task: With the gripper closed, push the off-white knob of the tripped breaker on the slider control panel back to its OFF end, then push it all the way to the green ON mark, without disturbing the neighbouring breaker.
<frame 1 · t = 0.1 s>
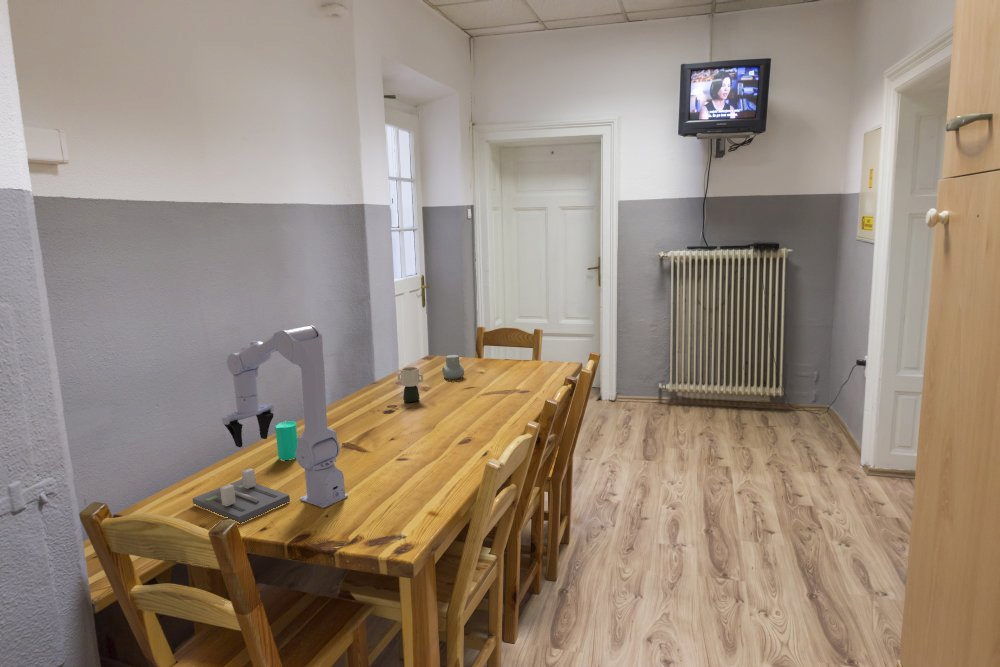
hand: (251, 442, 176), 10 cm above the table, tool pointing down, fingers open, 7 cm apart
air freshener: (453, 378, 283), on the table
tripped breaker: (228, 495, 155), point 5 cm above the table, slide at 5.0 cm
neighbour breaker: (248, 478, 165), point 5 cm above the table, slide at 10.0 cm
character mug: (411, 401, 248), on the table
candle: (288, 458, 192), on the table
slider control panel: (241, 504, 160), on the table
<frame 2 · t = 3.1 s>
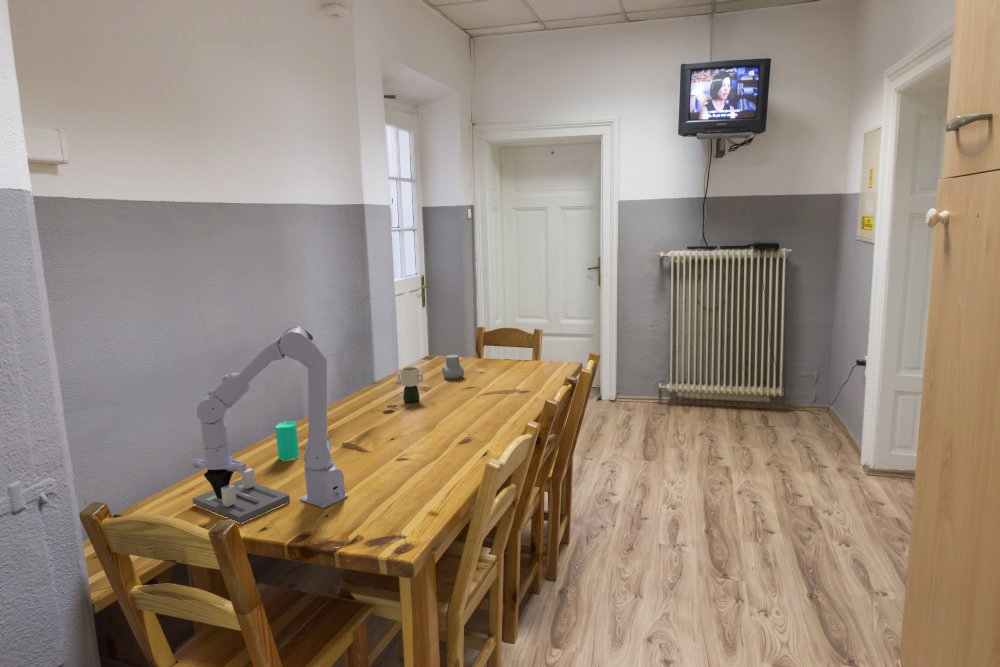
hand: (222, 497, 157), 3 cm above the table, tool pointing down, fingers closed
tripped breaker: (228, 495, 155), point 5 cm above the table, slide at 4.7 cm, touching gripper
everything else where it was.
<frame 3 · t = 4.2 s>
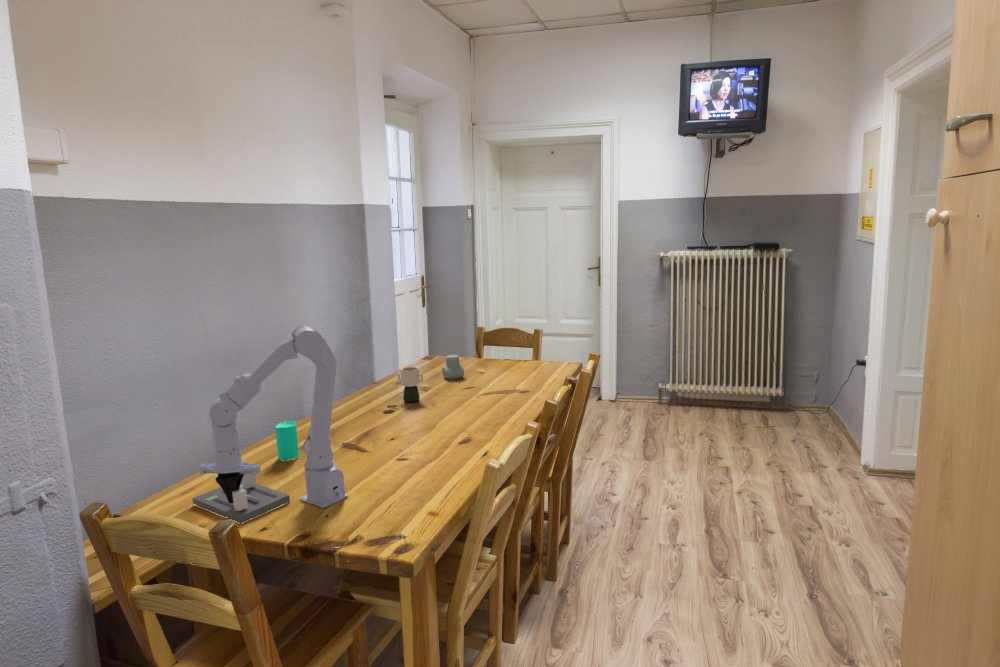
hand: (233, 501, 154), 3 cm above the table, tool pointing down, fingers closed
tripped breaker: (240, 499, 152), point 5 cm above the table, slide at -0.1 cm, touching gripper
everything else where it was.
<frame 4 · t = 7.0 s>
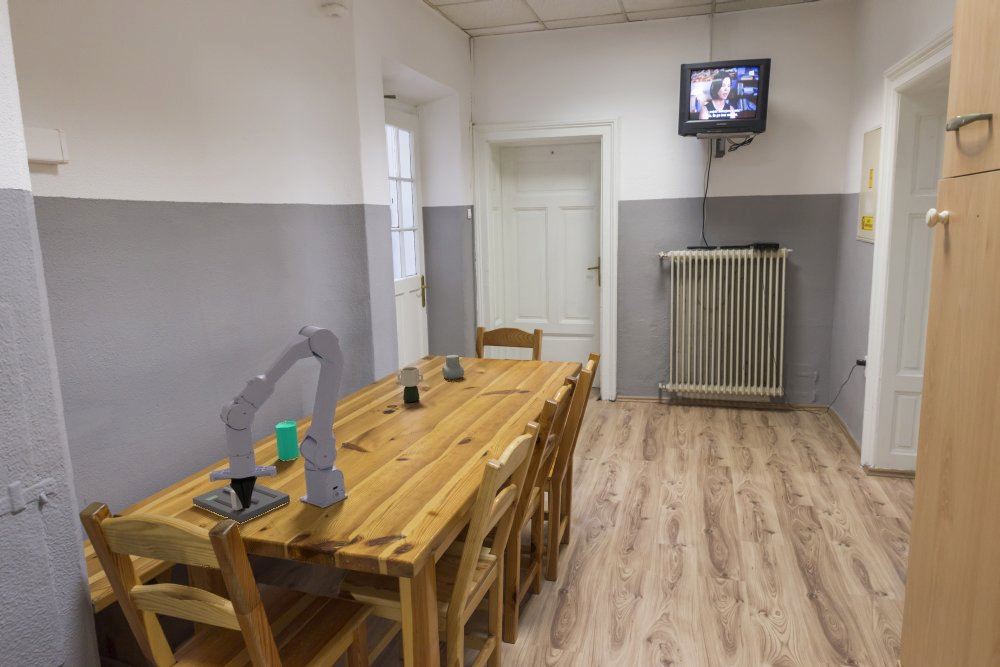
hand: (246, 506, 151), 3 cm above the table, tool pointing down, fingers closed
tripped breaker: (238, 499, 153), point 5 cm above the table, slide at 0.8 cm, touching gripper
everything else where it was.
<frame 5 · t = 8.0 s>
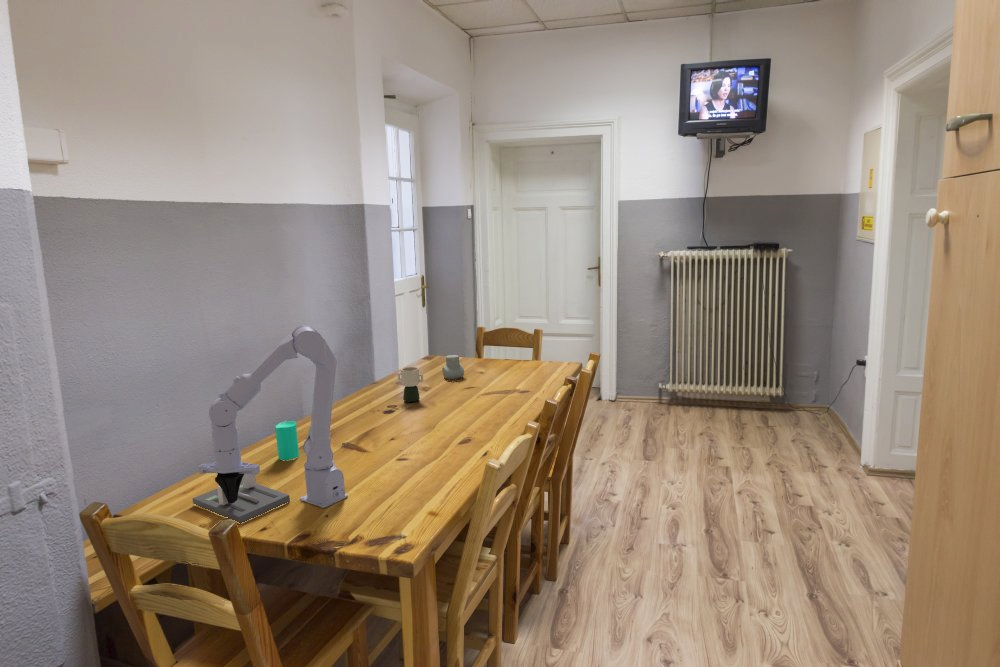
hand: (232, 501, 154), 3 cm above the table, tool pointing down, fingers closed
tripped breaker: (224, 493, 156), point 5 cm above the table, slide at 6.3 cm, touching gripper
everything else where it was.
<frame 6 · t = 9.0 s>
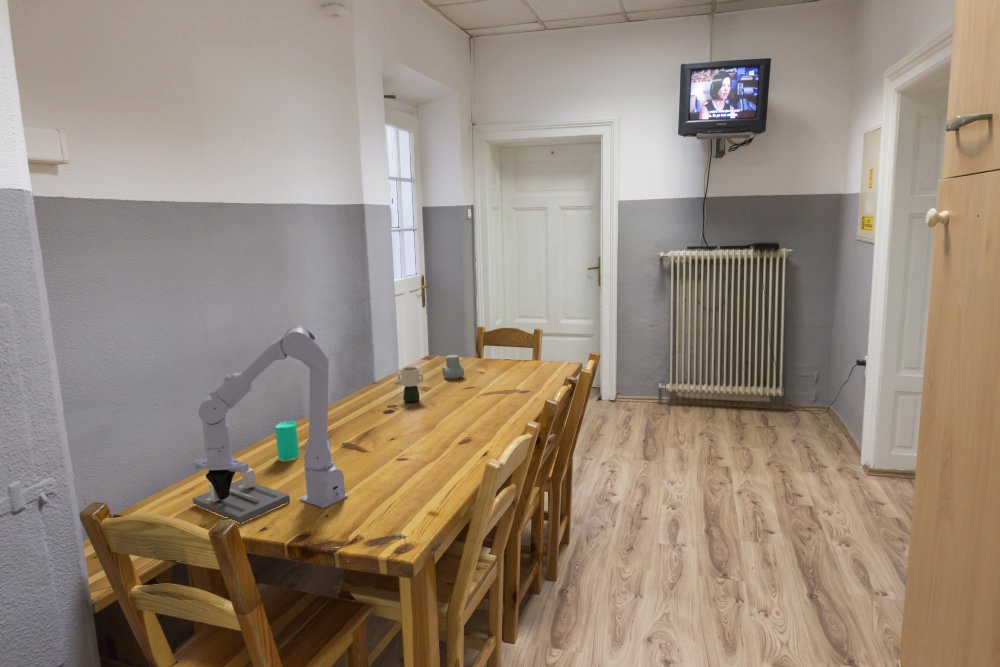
hand: (223, 498, 156), 3 cm above the table, tool pointing down, fingers closed
tripped breaker: (216, 490, 158), point 5 cm above the table, slide at 10.0 cm, touching gripper
everything else where it was.
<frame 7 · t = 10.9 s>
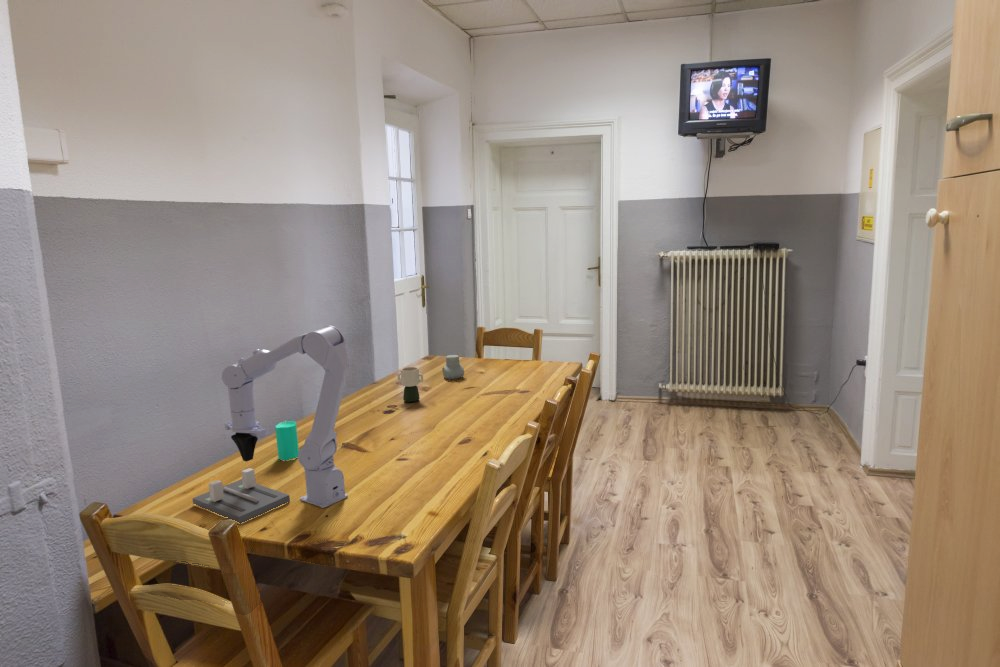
hand: (248, 459, 165), 9 cm above the table, tool pointing down, fingers closed
tripped breaker: (216, 490, 158), point 5 cm above the table, slide at 10.0 cm
everything else where it was.
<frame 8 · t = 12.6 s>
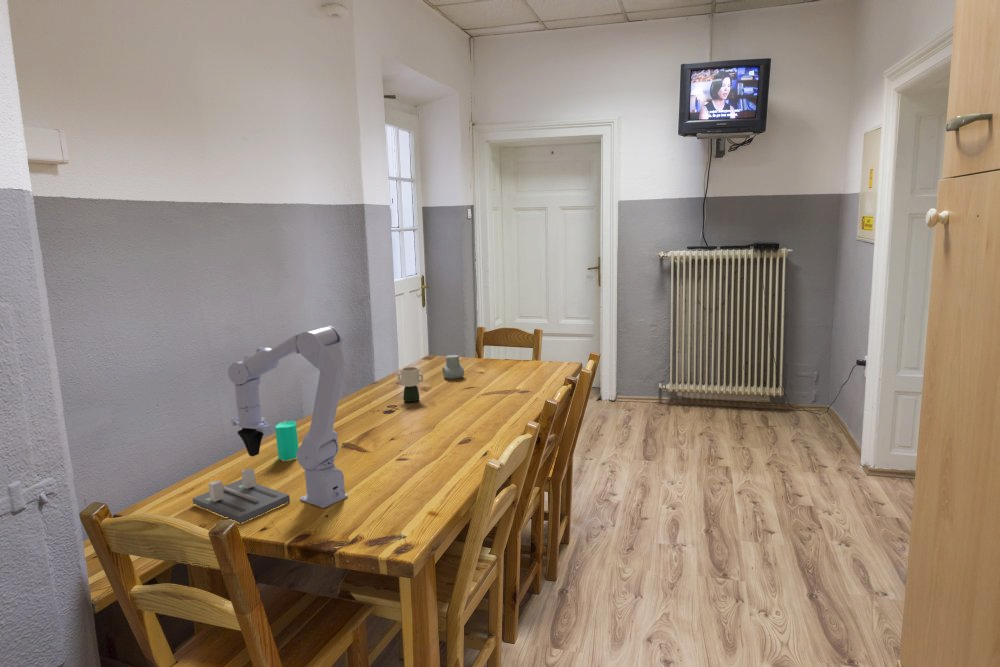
hand: (254, 455, 168), 9 cm above the table, tool pointing down, fingers closed
nothing on the table moved.
at the end: tripped breaker slide at 10.0 cm; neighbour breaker slide at 10.0 cm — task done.
